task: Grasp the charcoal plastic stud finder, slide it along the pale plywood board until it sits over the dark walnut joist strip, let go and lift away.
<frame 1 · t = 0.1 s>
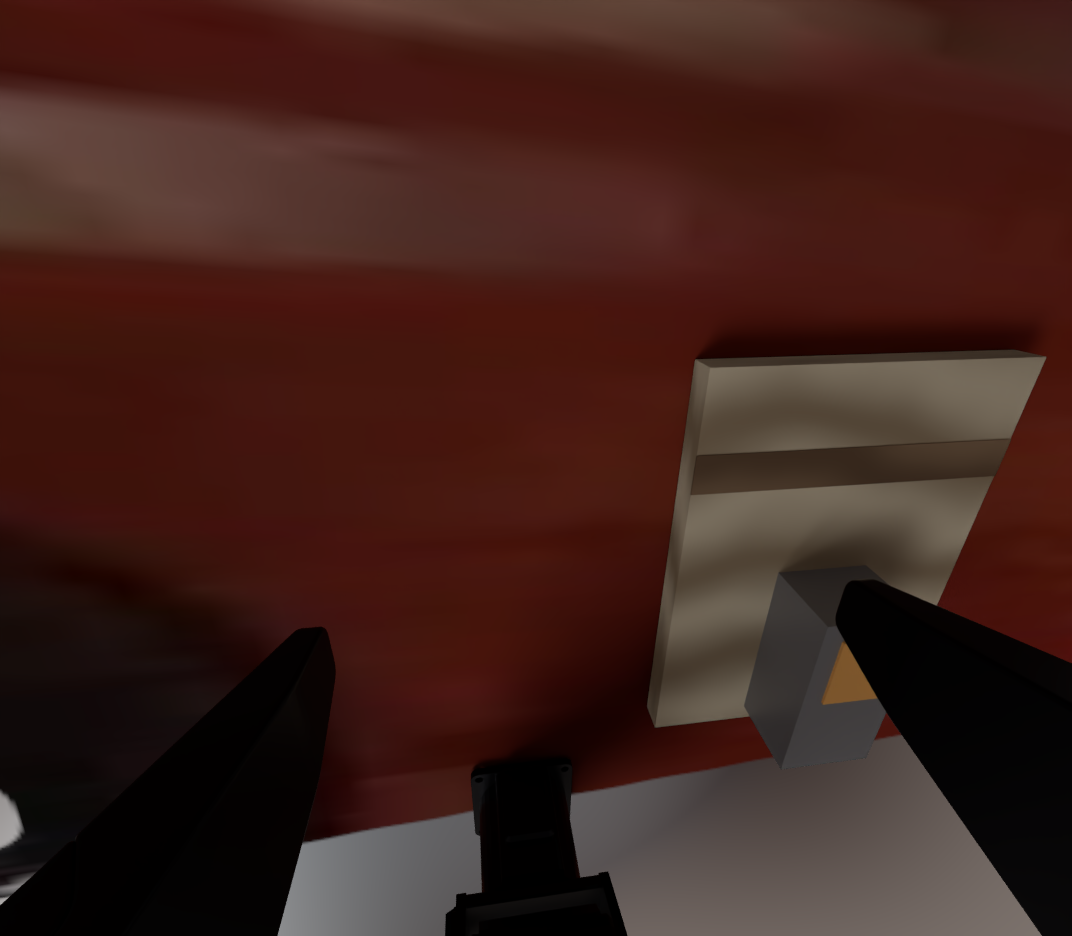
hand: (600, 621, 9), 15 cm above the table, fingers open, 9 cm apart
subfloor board: (805, 552, 28), on the table
stud finder: (800, 640, 29), point 1 cm above the table, touching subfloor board
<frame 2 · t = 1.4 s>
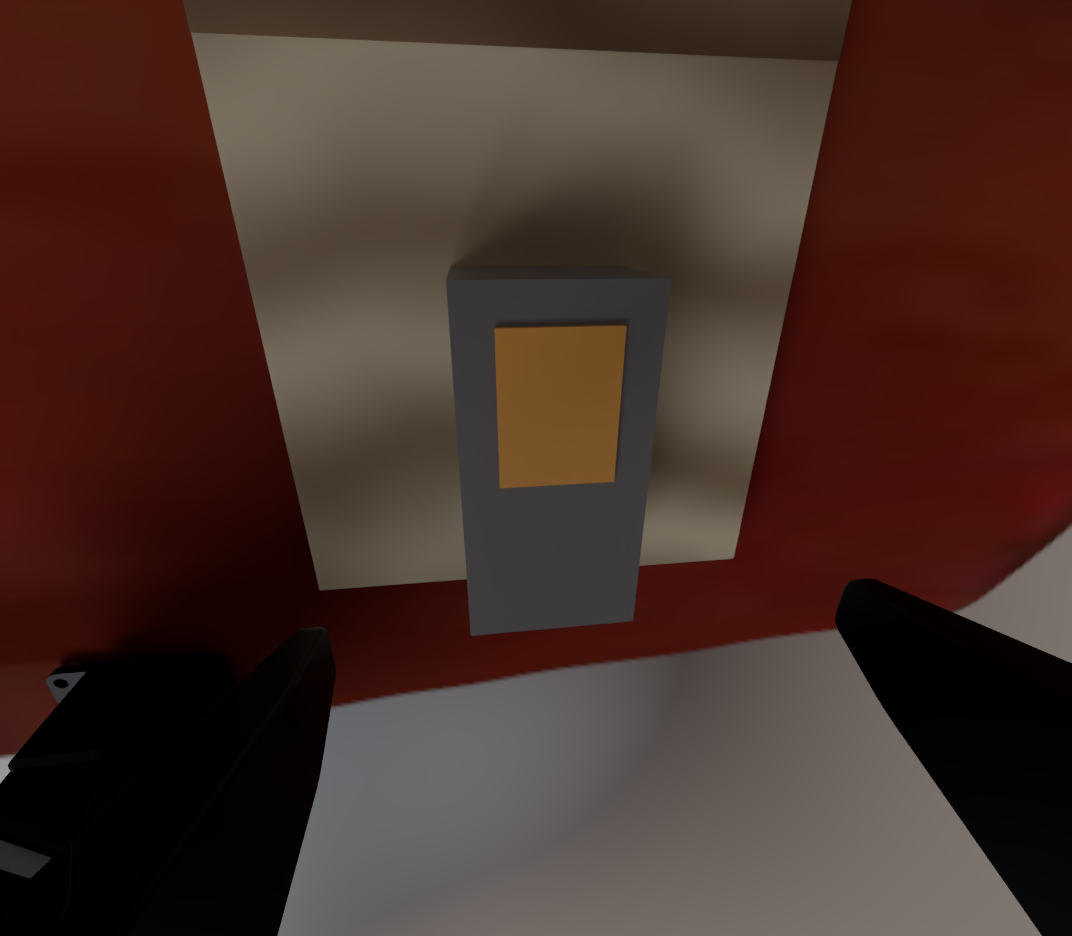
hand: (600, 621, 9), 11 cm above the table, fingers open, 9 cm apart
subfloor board: (531, 262, 16), on the table
stud finder: (537, 427, 17), point 1 cm above the table, touching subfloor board
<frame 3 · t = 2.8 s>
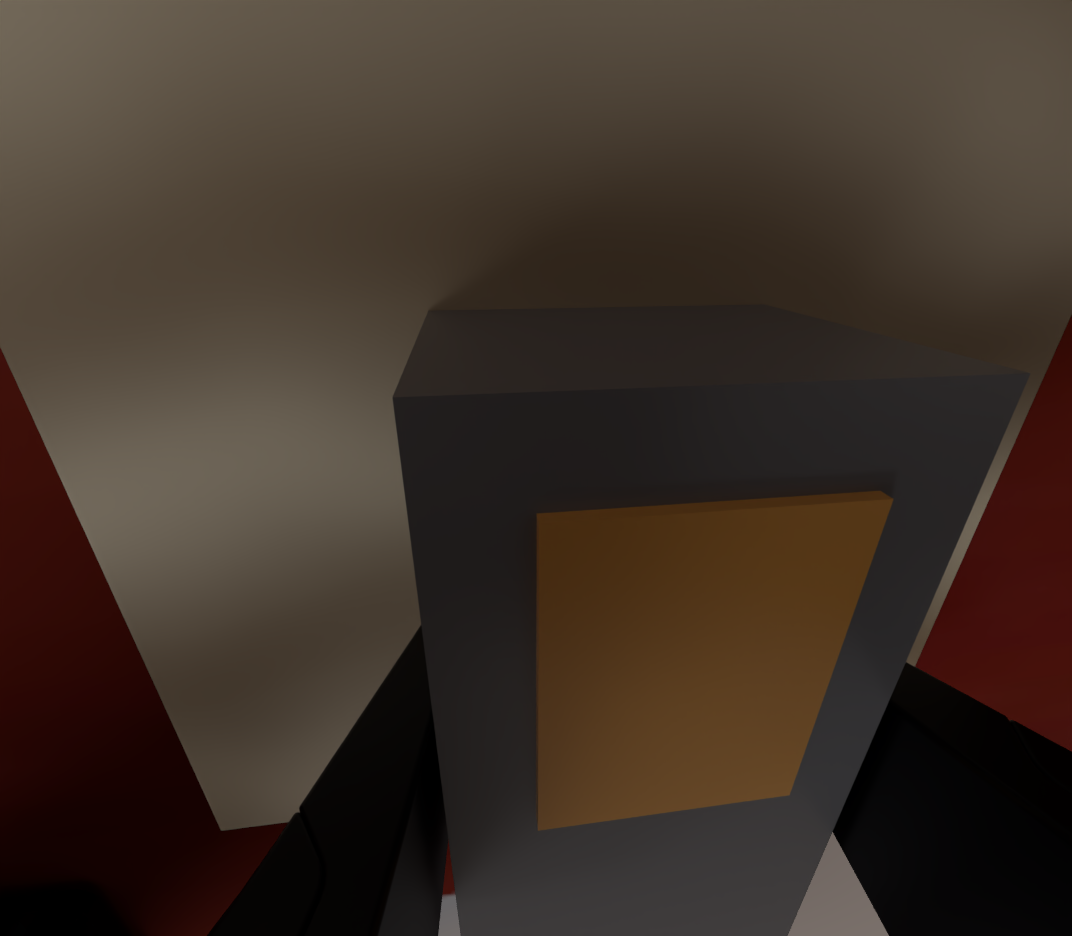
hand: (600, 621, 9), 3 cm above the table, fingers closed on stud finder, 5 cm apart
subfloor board: (581, 294, 9), on the table
stud finder: (587, 583, 9), point 1 cm above the table, touching gripper, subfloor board
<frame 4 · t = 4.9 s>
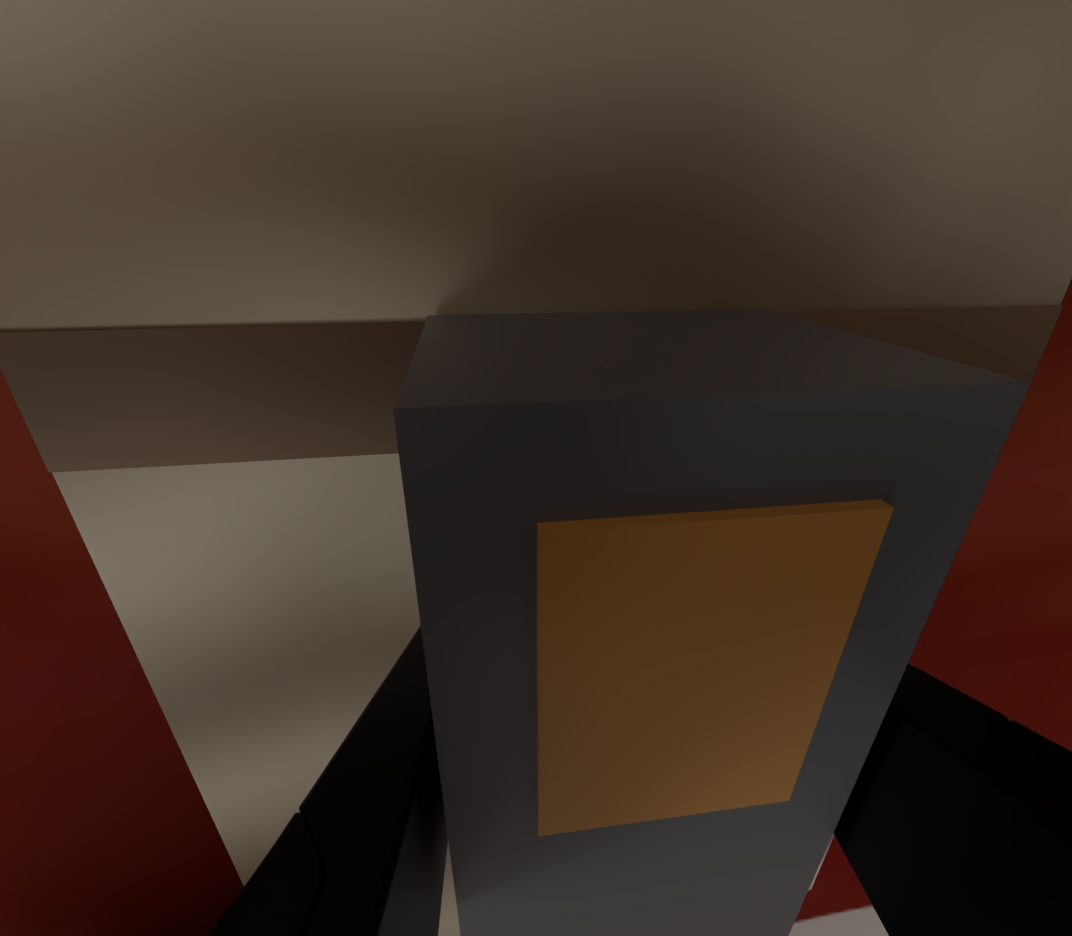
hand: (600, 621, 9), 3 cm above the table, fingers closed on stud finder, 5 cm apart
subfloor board: (563, 614, 12), on the table
stud finder: (587, 586, 9), point 2 cm above the table, touching gripper
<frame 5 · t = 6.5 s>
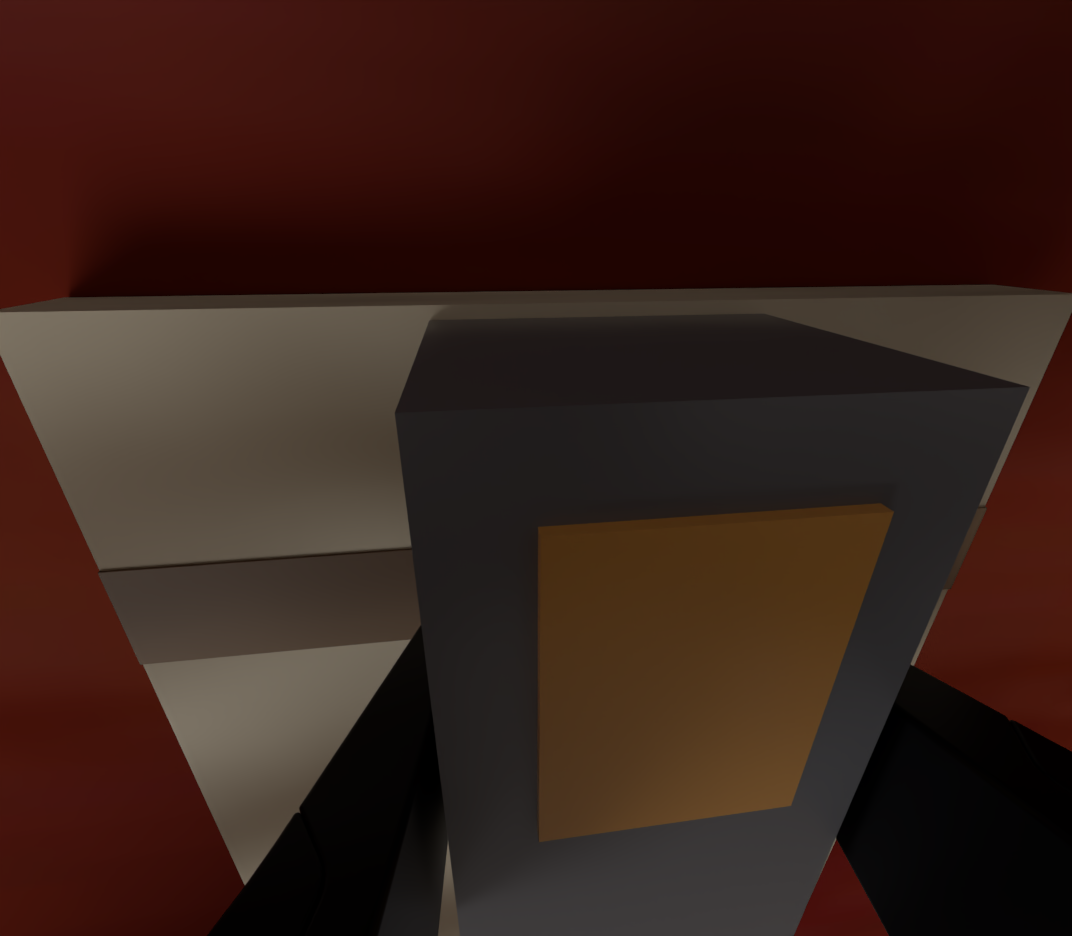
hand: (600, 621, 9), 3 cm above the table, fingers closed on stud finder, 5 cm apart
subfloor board: (563, 726, 13), on the table
stud finder: (588, 590, 9), point 2 cm above the table, touching gripper, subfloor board
when the fingers open (3 cm above the table, at t = 7.2 s): stud finder stays where it is, resting on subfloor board.
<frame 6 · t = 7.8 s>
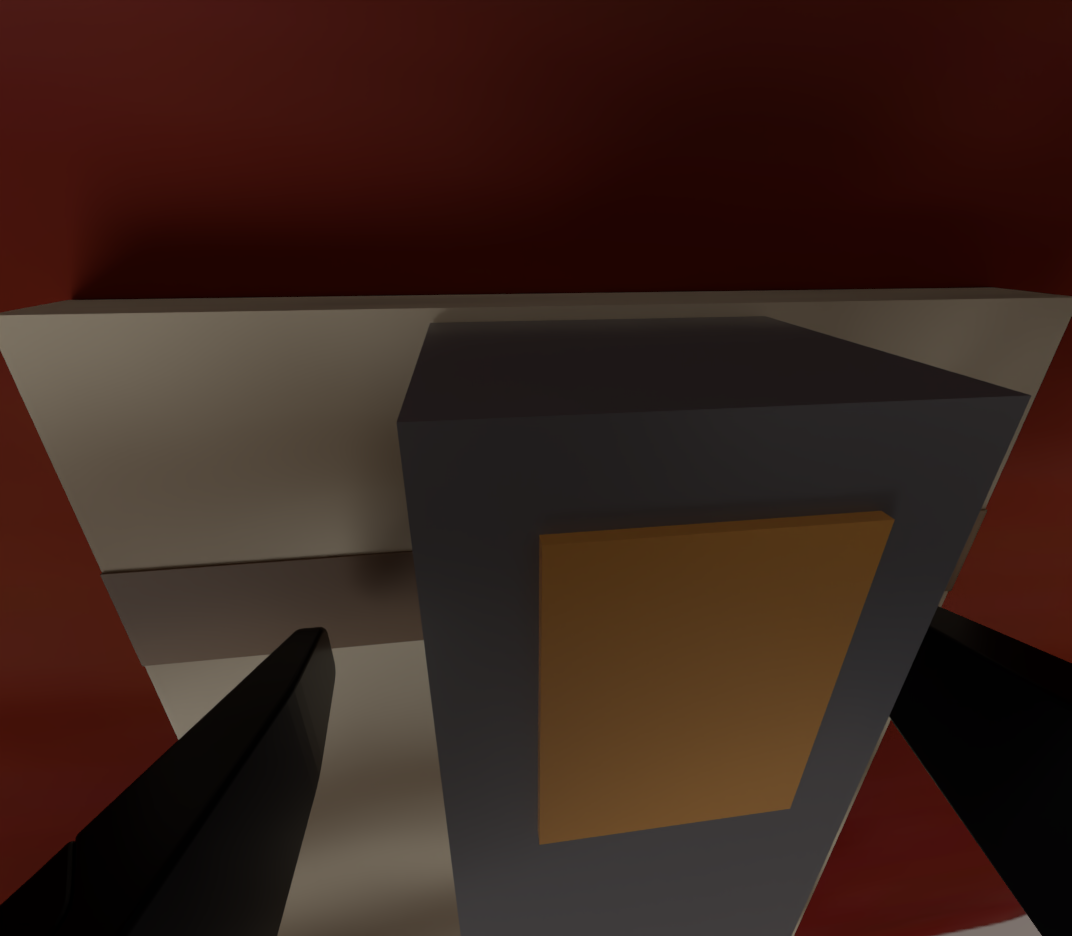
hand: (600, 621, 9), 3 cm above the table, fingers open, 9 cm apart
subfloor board: (564, 727, 13), on the table
stud finder: (588, 592, 10), point 2 cm above the table, touching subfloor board
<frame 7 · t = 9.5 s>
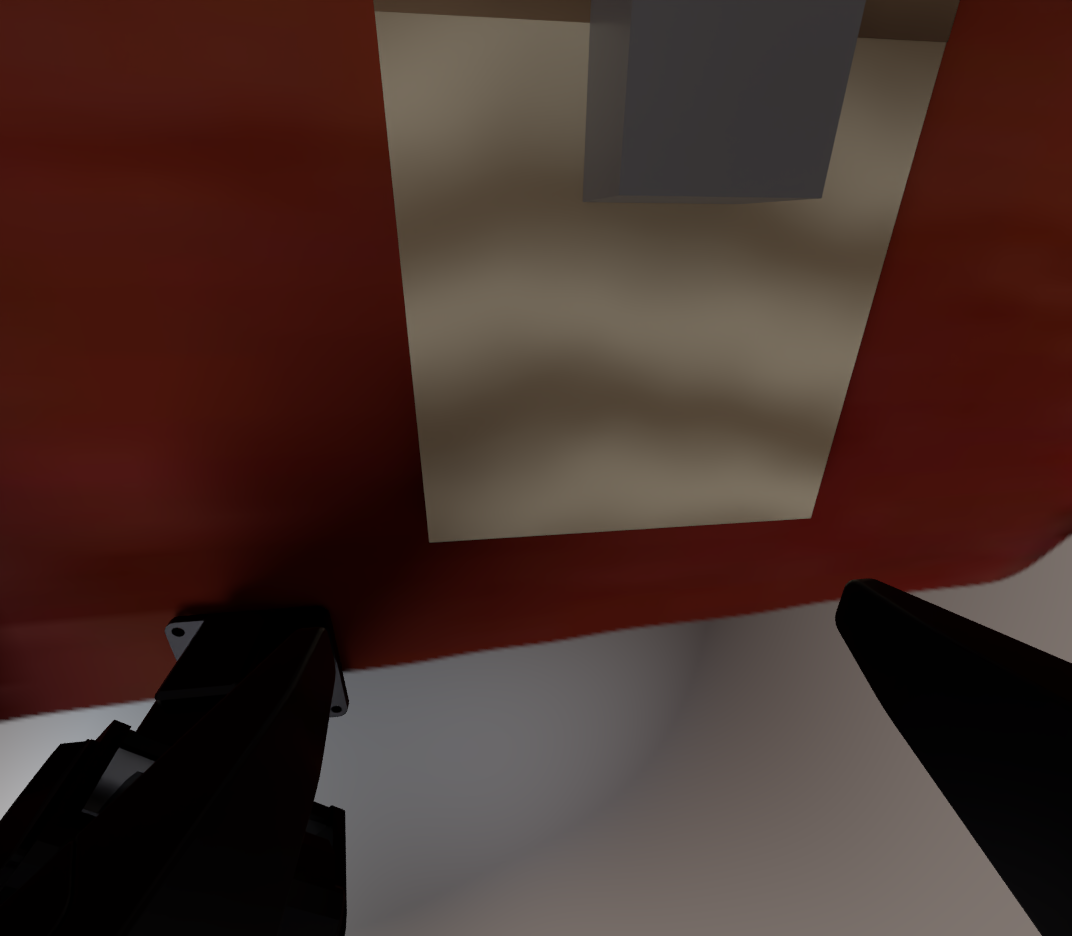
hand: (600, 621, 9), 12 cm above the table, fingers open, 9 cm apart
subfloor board: (643, 231, 17), on the table
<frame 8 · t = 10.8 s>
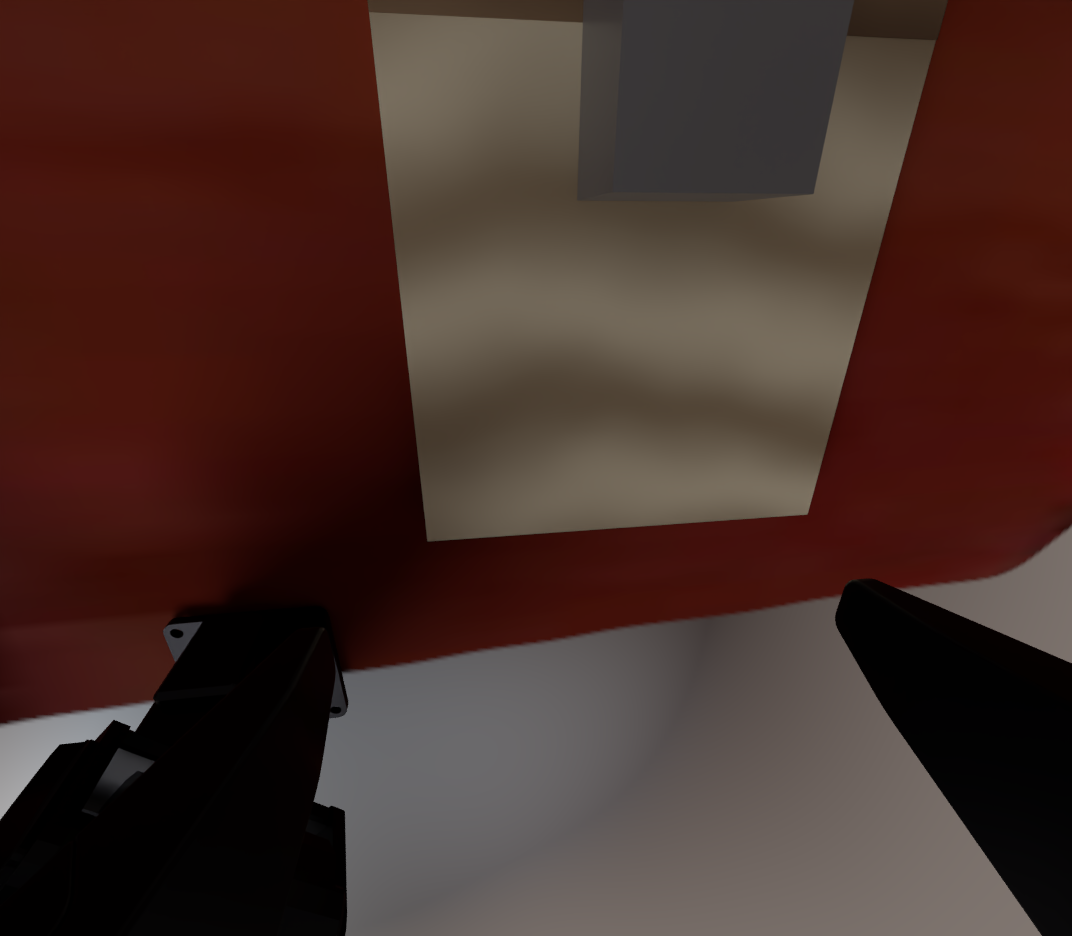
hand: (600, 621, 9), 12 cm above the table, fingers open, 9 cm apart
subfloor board: (638, 229, 17), on the table
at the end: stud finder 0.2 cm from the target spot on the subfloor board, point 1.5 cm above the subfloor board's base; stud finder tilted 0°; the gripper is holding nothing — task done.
